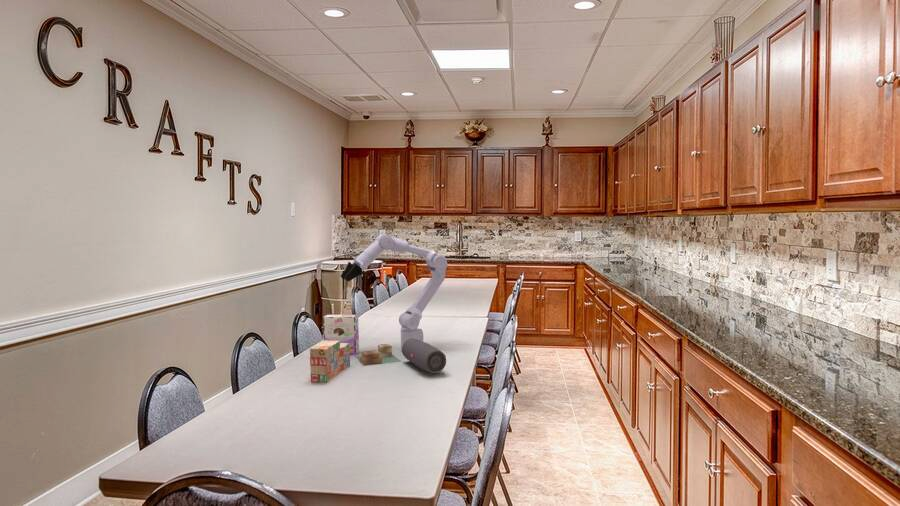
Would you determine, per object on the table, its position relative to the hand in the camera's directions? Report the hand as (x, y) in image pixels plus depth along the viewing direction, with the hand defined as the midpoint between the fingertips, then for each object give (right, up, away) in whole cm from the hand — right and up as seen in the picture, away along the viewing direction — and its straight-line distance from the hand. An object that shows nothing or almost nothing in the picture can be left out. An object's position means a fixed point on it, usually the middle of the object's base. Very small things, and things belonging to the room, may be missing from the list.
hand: (344, 279), depth 224 cm
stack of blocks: (0, -34, -22) cm, 41 cm away
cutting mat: (+14, -32, -3) cm, 35 cm away
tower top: (+12, -30, -8) cm, 34 cm away
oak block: (+17, -32, +2) cm, 36 cm away
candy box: (-2, -32, +8) cm, 33 cm away
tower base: (+12, -32, -8) cm, 35 cm away
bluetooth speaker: (+33, -33, -16) cm, 50 cm away
